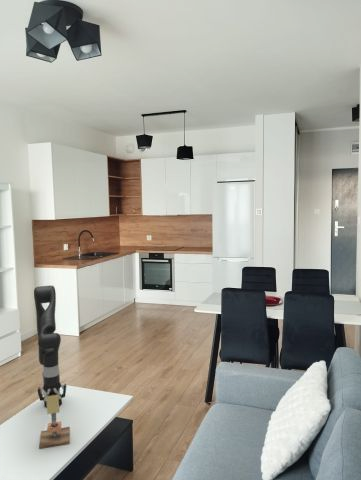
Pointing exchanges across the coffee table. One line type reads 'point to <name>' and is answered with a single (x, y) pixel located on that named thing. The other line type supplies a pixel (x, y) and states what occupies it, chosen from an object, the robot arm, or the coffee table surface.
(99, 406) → the coffee table surface
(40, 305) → the robot arm
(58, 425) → the orange square ring
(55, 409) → the sleeve
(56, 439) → the post stand
